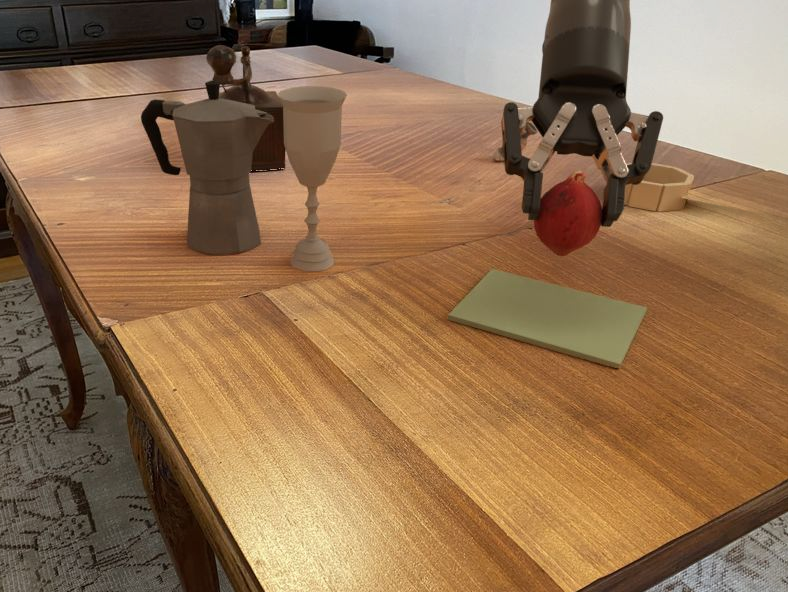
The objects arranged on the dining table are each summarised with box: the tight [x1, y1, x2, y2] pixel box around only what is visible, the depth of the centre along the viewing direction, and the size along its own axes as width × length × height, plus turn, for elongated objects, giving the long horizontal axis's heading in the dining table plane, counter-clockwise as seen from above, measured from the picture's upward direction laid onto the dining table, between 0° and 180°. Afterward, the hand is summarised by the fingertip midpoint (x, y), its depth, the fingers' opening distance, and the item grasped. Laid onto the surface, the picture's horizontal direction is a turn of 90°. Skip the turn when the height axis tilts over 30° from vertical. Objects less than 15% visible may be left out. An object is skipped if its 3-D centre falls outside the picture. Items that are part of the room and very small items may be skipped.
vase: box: [492, 121, 539, 162], centre depth 109 cm, size 5×5×6 cm
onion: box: [533, 170, 603, 257], centre depth 63 cm, size 6×6×8 cm
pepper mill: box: [205, 44, 286, 171], centre depth 102 cm, size 16×11×18 cm
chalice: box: [277, 85, 348, 272], centre depth 74 cm, size 7×7×18 cm
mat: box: [447, 268, 648, 369], centre depth 69 cm, size 16×12×1 cm
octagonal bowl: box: [624, 162, 695, 213], centre depth 96 cm, size 9×9×4 cm
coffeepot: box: [140, 79, 274, 256], centre depth 79 cm, size 15×9×18 cm, turn 75°
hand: (570, 219), depth 62 cm, fingers closed on onion, 5 cm apart
